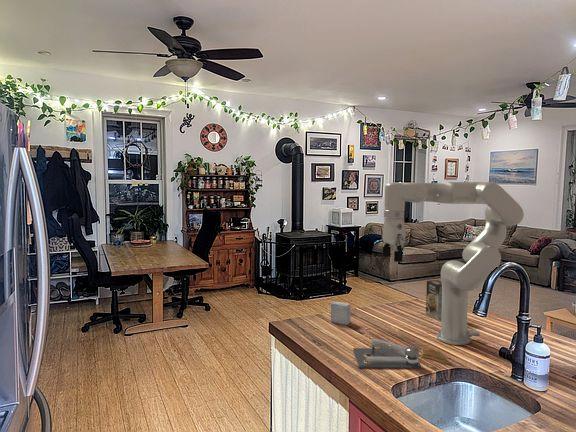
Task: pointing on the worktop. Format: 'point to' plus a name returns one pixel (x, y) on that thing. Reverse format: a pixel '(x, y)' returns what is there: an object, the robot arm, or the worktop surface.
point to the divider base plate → (379, 354)
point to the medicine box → (340, 313)
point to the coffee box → (434, 299)
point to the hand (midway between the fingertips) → (392, 259)
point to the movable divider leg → (396, 348)
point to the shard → (434, 355)
